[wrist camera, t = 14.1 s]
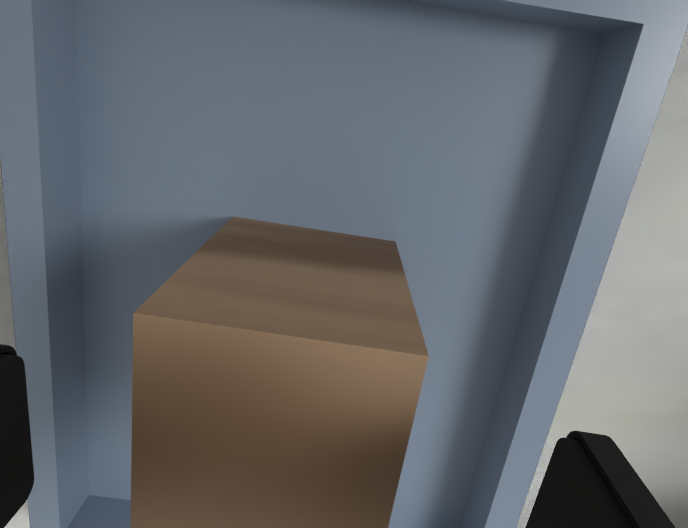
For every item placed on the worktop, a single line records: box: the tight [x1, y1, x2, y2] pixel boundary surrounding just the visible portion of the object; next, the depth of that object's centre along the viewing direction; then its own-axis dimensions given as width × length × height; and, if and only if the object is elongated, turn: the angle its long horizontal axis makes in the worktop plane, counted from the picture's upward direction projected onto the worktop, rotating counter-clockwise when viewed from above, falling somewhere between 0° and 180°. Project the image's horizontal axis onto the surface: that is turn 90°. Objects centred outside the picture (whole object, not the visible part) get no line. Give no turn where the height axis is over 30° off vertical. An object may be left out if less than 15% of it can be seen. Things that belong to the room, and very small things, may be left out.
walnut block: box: [130, 217, 429, 528], centre depth 12 cm, size 5×5×7 cm
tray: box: [0, 0, 688, 528], centre depth 15 cm, size 20×16×2 cm
